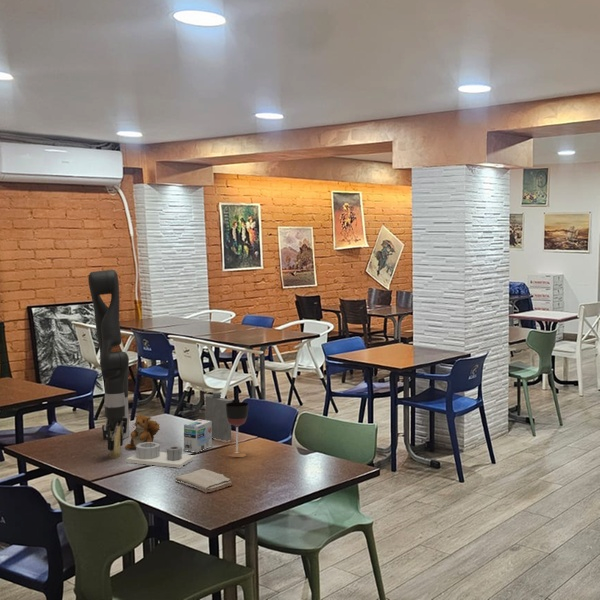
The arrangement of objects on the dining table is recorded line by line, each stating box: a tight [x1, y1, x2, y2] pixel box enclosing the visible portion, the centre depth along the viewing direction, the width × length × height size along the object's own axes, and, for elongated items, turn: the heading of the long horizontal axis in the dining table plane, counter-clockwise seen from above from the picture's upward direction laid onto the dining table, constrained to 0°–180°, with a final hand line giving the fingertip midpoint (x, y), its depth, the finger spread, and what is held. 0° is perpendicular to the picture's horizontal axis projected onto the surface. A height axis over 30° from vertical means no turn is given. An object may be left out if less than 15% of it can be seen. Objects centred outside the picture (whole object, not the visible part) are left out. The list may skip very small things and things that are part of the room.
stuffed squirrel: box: [124, 414, 161, 450], centre depth 277 cm, size 10×14×13 cm
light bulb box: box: [183, 418, 213, 453], centre depth 274 cm, size 11×7×11 cm, turn 154°
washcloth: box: [174, 468, 233, 490], centre depth 233 cm, size 12×18×3 cm, turn 48°
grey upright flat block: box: [205, 390, 232, 441], centre depth 289 cm, size 16×4×20 cm, turn 43°
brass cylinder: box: [109, 426, 122, 459], centre depth 263 cm, size 4×4×12 cm
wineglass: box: [226, 401, 249, 453], centre depth 266 cm, size 8×9×20 cm
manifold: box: [126, 441, 196, 467], centre depth 258 cm, size 22×12×6 cm, turn 72°
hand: (115, 447), depth 263 cm, fingers open, 5 cm apart
